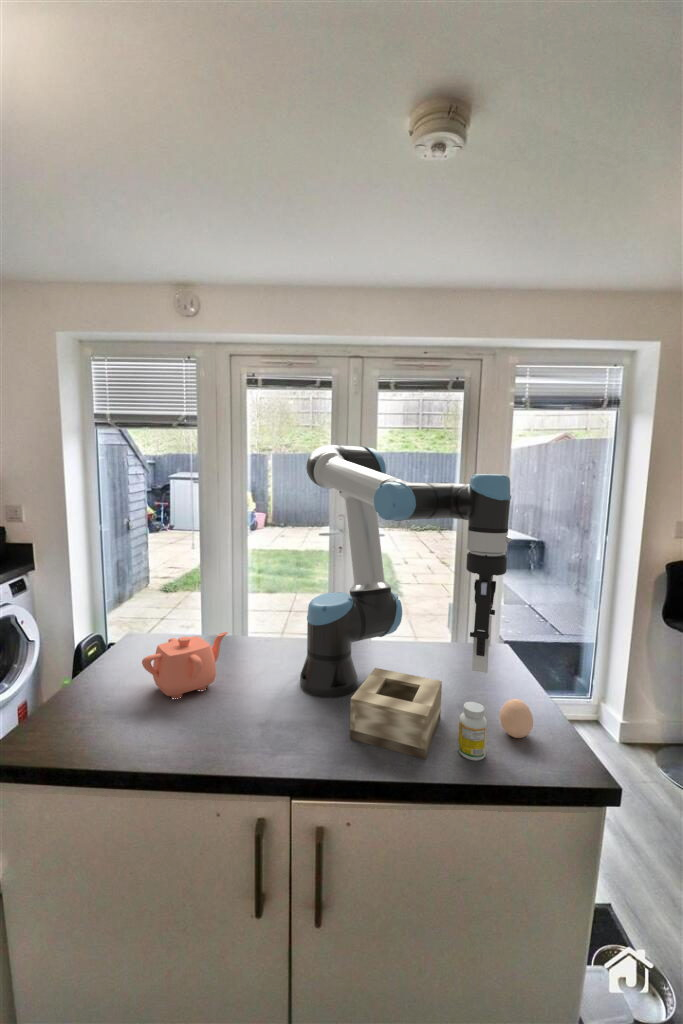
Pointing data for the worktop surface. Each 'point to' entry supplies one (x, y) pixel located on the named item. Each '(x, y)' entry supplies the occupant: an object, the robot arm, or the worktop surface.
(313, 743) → the worktop surface
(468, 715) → the supplement bottle
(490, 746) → the worktop surface
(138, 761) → the worktop surface
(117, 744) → the worktop surface
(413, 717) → the drop box
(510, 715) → the egg
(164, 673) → the teapot
